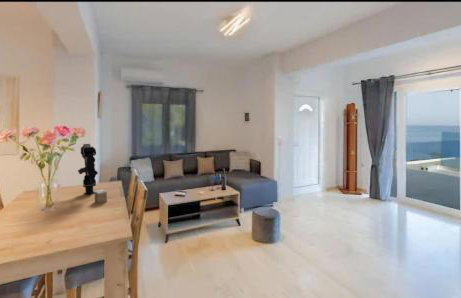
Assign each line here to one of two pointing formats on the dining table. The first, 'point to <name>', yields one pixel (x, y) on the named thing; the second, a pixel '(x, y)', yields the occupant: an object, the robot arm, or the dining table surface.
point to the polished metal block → (100, 196)
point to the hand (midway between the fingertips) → (92, 183)
